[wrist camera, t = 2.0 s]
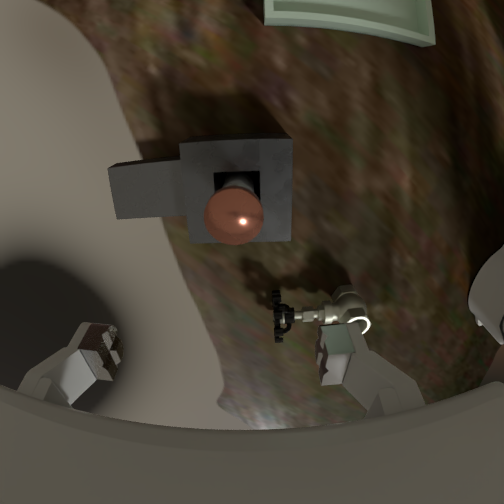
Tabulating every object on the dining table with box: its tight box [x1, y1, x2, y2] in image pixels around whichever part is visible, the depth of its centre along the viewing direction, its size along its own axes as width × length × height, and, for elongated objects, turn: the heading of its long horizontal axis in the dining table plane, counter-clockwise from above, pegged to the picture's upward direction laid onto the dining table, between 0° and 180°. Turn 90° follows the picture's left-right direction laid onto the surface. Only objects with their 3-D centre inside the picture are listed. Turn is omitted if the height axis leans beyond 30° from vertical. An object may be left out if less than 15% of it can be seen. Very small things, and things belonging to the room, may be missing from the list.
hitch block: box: [108, 133, 293, 243], centre depth 29 cm, size 19×10×5 cm, turn 92°
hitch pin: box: [204, 171, 264, 245], centre depth 26 cm, size 4×4×11 cm
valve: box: [272, 285, 371, 343], centre depth 36 cm, size 7×7×12 cm
